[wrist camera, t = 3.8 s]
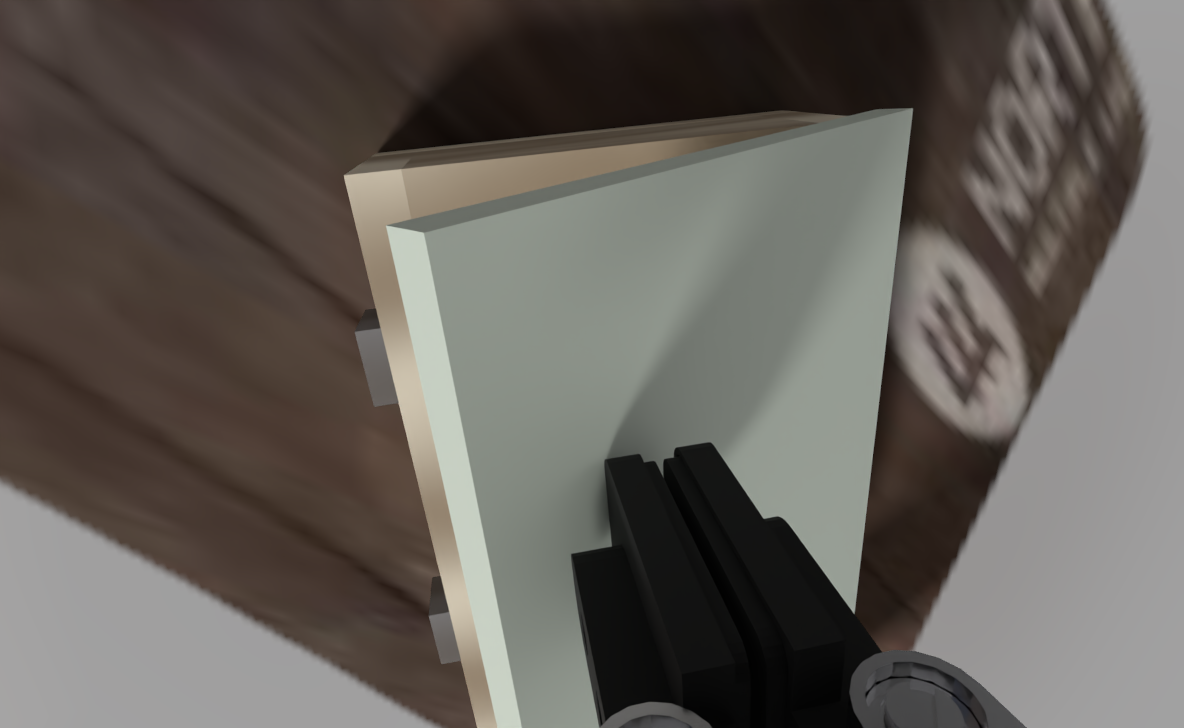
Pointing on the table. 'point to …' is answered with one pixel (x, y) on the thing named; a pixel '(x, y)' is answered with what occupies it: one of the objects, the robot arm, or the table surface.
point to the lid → (651, 365)
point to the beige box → (378, 199)
